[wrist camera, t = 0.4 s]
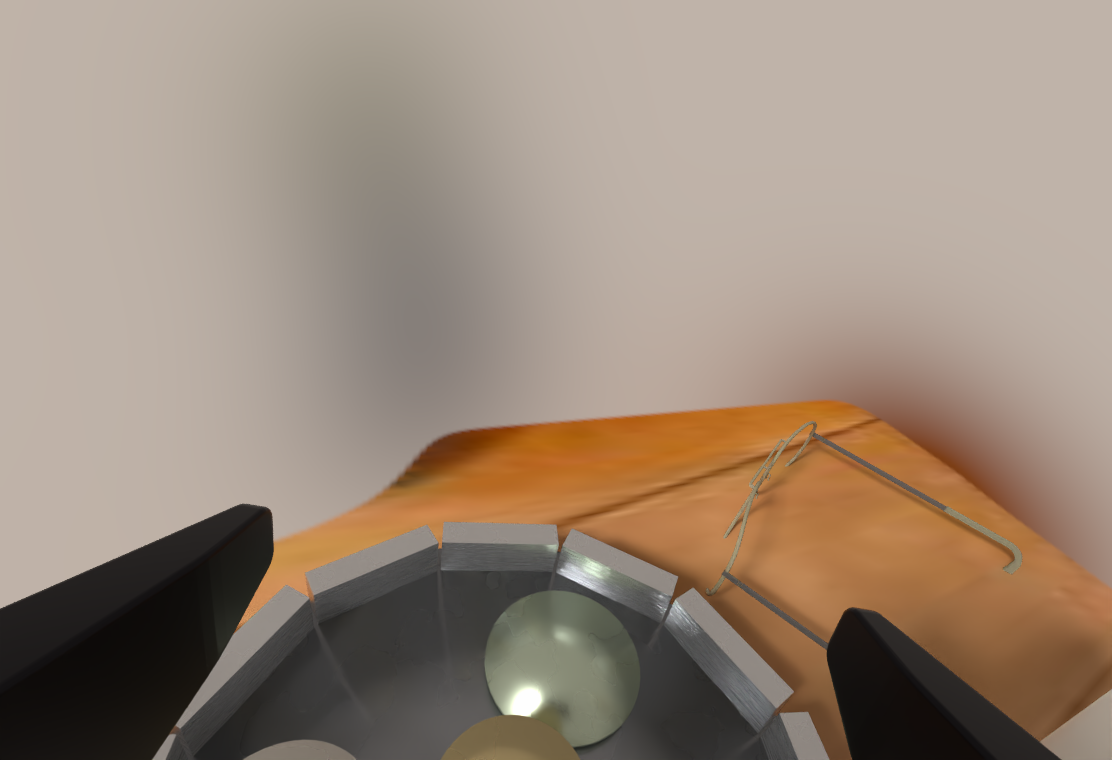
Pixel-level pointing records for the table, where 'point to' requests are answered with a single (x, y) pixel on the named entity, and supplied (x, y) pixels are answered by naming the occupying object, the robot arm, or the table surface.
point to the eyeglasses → (1017, 553)
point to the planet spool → (1085, 733)
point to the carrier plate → (490, 662)
